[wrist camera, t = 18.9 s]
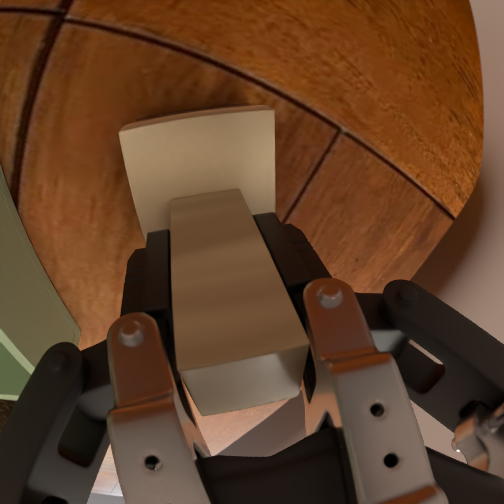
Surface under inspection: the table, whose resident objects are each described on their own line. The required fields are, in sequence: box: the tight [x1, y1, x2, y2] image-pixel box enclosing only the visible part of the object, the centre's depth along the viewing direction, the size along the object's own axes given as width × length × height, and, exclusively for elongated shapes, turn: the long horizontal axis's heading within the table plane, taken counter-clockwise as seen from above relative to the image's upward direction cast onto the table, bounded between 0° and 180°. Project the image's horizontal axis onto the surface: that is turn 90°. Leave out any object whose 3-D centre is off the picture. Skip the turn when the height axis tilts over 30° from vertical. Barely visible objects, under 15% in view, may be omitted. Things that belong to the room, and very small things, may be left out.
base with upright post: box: [118, 103, 310, 416], centre depth 10 cm, size 8×5×10 cm, turn 2°
